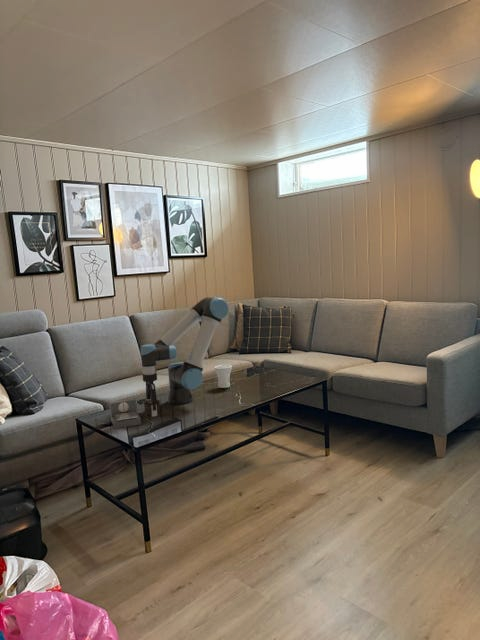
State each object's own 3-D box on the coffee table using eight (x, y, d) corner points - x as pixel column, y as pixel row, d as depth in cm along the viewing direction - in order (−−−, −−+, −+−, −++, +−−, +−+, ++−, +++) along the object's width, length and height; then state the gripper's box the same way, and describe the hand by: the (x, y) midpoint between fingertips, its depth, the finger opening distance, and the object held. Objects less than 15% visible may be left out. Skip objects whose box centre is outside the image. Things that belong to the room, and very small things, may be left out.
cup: (213, 389, 302) (211, 368, 301) (219, 385, 313) (217, 364, 311) (229, 390, 299) (228, 368, 297) (235, 386, 309) (234, 364, 308)
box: (153, 411, 261) (152, 398, 260) (160, 413, 257) (159, 400, 256) (144, 414, 256) (143, 401, 256) (151, 416, 252) (150, 402, 252)
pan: (134, 412, 248) (134, 411, 248) (137, 417, 240) (137, 415, 239) (114, 416, 244) (114, 414, 244) (116, 420, 236) (116, 419, 236)
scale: (136, 417, 252) (134, 398, 252) (141, 424, 240) (139, 404, 239) (111, 421, 248) (109, 402, 247) (114, 428, 235) (113, 408, 234)
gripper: (138, 370, 264) (141, 409, 266) (146, 378, 242) (149, 420, 245) (152, 368, 266) (154, 407, 269) (161, 376, 245) (164, 417, 247)
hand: (152, 413), depth 257 cm, fingers open, 10 cm apart
